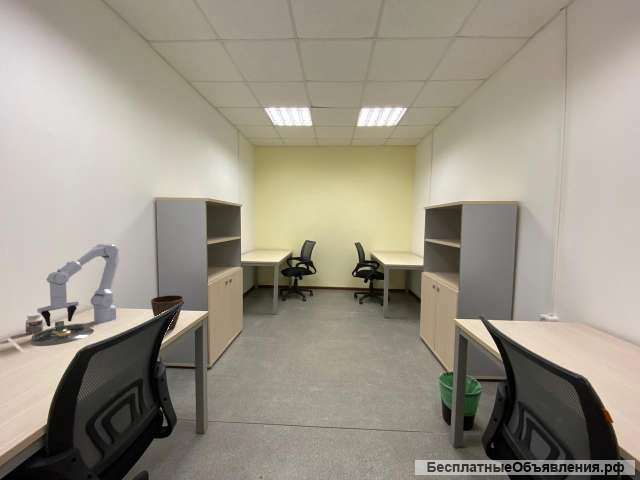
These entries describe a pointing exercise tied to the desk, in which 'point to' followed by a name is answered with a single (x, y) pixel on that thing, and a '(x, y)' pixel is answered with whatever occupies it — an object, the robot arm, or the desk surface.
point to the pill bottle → (34, 323)
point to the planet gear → (58, 327)
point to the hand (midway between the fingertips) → (59, 323)
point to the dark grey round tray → (61, 335)
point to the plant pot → (166, 306)
